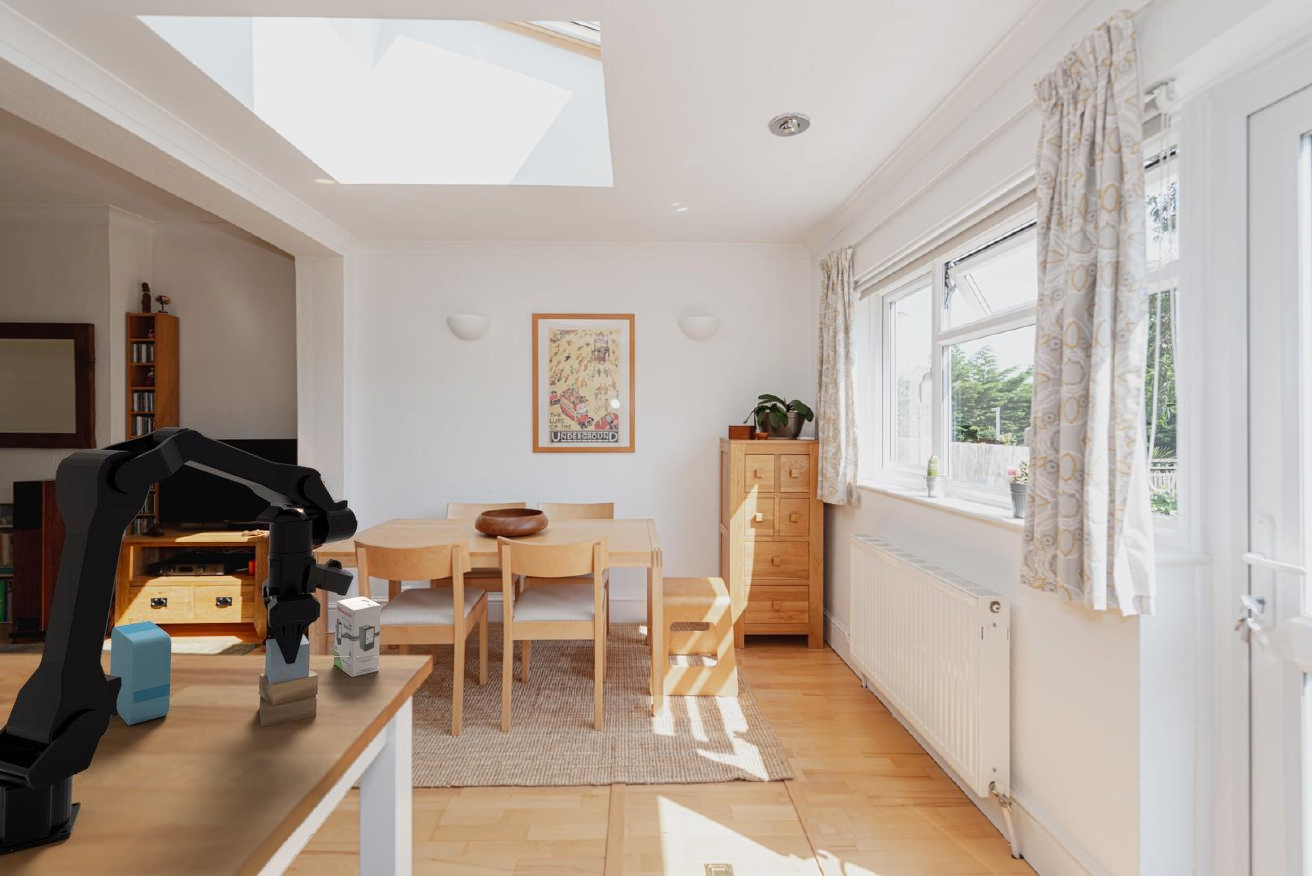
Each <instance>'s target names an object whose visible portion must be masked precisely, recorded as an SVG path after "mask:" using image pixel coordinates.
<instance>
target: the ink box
mask: <svg viewBox="0 0 1312 876" xmlns="http://www.w3.org/2000/svg"><path fill="white" fill-rule="evenodd" d="M381 609H382V608H381V604H380V603H378V602H376V601H374V600H372V599H370V598H368V597H365V596H357V597H352V598H346V599H340V600H336V608H335V626H334V627H335V628H334V629H335V631H334V649H333V650H334V651H333V664H334V666H336V667H337V668H339V669H340V670H341V671H343V672H344V673H345V674H347V675H349V676H350V677H351V678H355V677H357V676H362V675H366V674H370V673H374V672H378V671H379V666H380V636H381V635H380V634H381ZM334 656H350V657H334ZM357 656H359V657H357ZM374 656H379V657H374Z"/></svg>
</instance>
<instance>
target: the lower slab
mask: <svg viewBox="0 0 1312 876" xmlns="http://www.w3.org/2000/svg"><path fill="white" fill-rule="evenodd" d="M317 700H318V698H317V695H314V696H310V697H307V698H303V699H299V700H295V701H292V702H288V703H284V704H280V705H277V706H272V705H271V704H270V703H269V702H267V701H266V700H265V699H264V698H263V697H262V696H260V695H259V726H260V727H266V726H271V725H277V724H282V723H287V722H293V721H298V720H304V719H309V718H313V717H317V705H318V703H317V702H318V701H317Z"/></svg>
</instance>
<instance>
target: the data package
mask: <svg viewBox="0 0 1312 876" xmlns="http://www.w3.org/2000/svg"><path fill="white" fill-rule="evenodd" d="M110 638H111V639H110V643H111V644H110V668H109V669H110V670H109V671H110V672H109V675H112V676H117V677H121V678H122V686H121V689H120V692H119V695H118V698H117V710H118V715H119V716H120V718H121V719H122V720H123V721H124V722H125V724H127V725H128V726H132V725H135V724H140V723H143V722H146V721H152V720H155V719H157V718H162V717H165V716H168V714H169V712H170V707H171V706H170V703H171V702H170V701H171V699H170V698H171V676H172V675H171V673H172V671H171V670H172V669H171V667H172V639H171V638H172V637H171V636H170V634H169V633H167V632H166V631H165V630H163V629H162V628H161V627H160V626H158V625H156V624H155V623H154V622H152V621H150V620H148V621H141V622H136V623H130V624H124V625H123V624H122V625H118V626H114V627H113V628H112V630H111V637H110Z"/></svg>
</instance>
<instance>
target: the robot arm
mask: <svg viewBox="0 0 1312 876" xmlns="http://www.w3.org/2000/svg"><path fill="white" fill-rule="evenodd" d="M183 465H185V466H188V467H192V468H195V469H196V470H197V469H198V470H200V471H203V472H207V473H210V474H212V475H216V476H218V477H222V478H224V479H228V480H231V481H233V482H236V483H240V484H243V485H245V486H246V487H248V488H250V489H251V490H252V491H253V493H254V494H255V495H257V496H258V497H260V498H262V499H264V500H266V501H267V502H269V503H271V504H276V505H269V506H267V508H266V509H265V510H264V511H263V512H262V513H260V514H259V515H258V516H257V517H256V519H255V520H256V522H257V523H265V524H269V536H268V537H269V539H268V554H267V565H268V566H267V567H268V569H267V570H268V572H267V578H266V579H265V580H264V581H262V584H261V587H262V588H261V596H262V601H263V604H264V607H265V609H266V611H267V612H266V613H267V622H268V626H269V627H270V630H271V632H272V634H273V637H274V639H276V642H277V644H278V646H279V648H280V651H281V653H282V655H283V658H284V660H285V662H286V664H293V663H295V661H296V657H297V654H298V651H299V647H300V644H301V640H302V637H303V634H304V635H305V630H306V629H307V628H308V627H310V625H312V623H313V624H314V623H315V622H317V620H319V618H321V602H320V601H319V598H317V597H316V596H314V595H313V594H315V593H317V589H318V590H322V591H326V592H330V593H335V594H336V595H339V596H343V597H345V596H347V594H348V592H349V589H350V587H351V585H352V582H353V579H354V577H355V576H354V574H353V573H352V572H351V571H349V570H347V569H343V567H342V562H341V561H340V560H338V559H334V558H329V560H327V561H326V562H325V563H317V559H316V558H315V556H314V555H313V551H314V545H315V546H319V545H320V546H321V545H326V544H331V543H336V542H341V541H345V540H346V541H347V540H349V539H351V538H352V537H354V535H355V534H356V532H357V529H358V519H357V517H356V515H355V513H354V512H353V510H352V509H351V508H350V507H348V506H349V505H348V504H349V501H348V499H342V498H341V499H340V498H336V499H335V498H334V499H333V497H332V496H331V494H330V492H329V490H328V489H327V486H325V484H324V482H323V480H322V477H321V476H322V474H321V472H319V470H317V469H316V468H313V467H309V466H303V465H297V464H289V463H282V462H275V461H271V460H268V459H265V458H263V457H261V456H258V455H255V454H254V453H250V452H248V451H245V450H242V449H240V448H237V447H235V446H232V445H230V444H227V443H224V442H222V441H220V440H218V439H215V438H211V437H209V436H207V435H205V434H202V433H201V432H199V431H198V430H196V429H194V428H190V427H173V426H171V427H170V426H165V427H164V426H163V427H160V428H158V429H156V430H154V431H152V432H149V433H147V434H144V435H142V436H139V437H134V438H130V439H128V440H123V441H120V442H116V443H112V444H110V445H106V446H104V447H102V448H100V449H93V448H91V449H81V450H78V451H75V452H73V453H71V454H70V455H68V456H67V457H65V458H64V457H63V458H62V460H61V461H60V462H59V464H58V466H57V469H56V471H55V502H56V505H57V508H58V511H59V514H60V516H61V519H62V522H63V523H64V525H65V526H64V527H65V536H64V540H63V545H62V546H63V547H62V551H61V556H60V561H59V565H58V571H57V577H56V582H55V588H54V591H53V599H52V602H51V608H50V614H49V619H48V623H47V629H46V632H45V633H46V635H45V639H44V645H43V650H42V655H41V661H40V662H39V665H38V666H37V668H36V670H35V671H34V672H33V673H32V674H31V675H30V677H29V678H28V680H27V681H26V682H25V683H24V684H23V686H22V687H21V688H20V689H19V690H18V693H17V696H16V698H15V701H14V703H13V705H12V709H11V711H10V714H9V715H8V719H7V721H6V724H5V725H4V726H3V727H2V728H1V729H0V853H2V854H5V853H4V852H6V853H10V852H12V851H11V850H14V851H17V850H21V849H26V848H30V847H33V846H37V845H42V844H46V843H49V842H54V841H58V840H62V839H66V838H68V837H70V836H71V835H72V832H73V829H74V826H75V824H76V821H77V819H78V816H79V813H80V810H81V808H82V807H81V806H82V805H81V802H77V801H76V802H72V801H73V778H74V777H73V776H74V775H75V776H76V775H77V774H80V773H81V772H84V771H86V770H88V769H89V768H90V766H91V763H92V761H93V758H94V756H95V753H96V751H97V748H98V747H99V743H100V740H101V738H102V737H104V736H105V735H106V732H108V729H109V727H110V723H111V721H112V717H117V716H118V715H119V714H118V710H117V698H118V695H119V692H120V689H121V686H122V678H121V677H117V676H112V675H110V674H107V673H105V671H104V668H103V665H102V655H103V650H104V644H105V639H106V635H107V634H106V633H107V628H108V623H109V616H110V611H111V607H112V600H113V595H114V589H115V583H116V577H117V572H118V566H119V562H120V556H121V551H122V545H123V538H124V534H125V531H126V530H127V529H128V527H129V526H130V525H131V524H132V522H133V521H134V520H135V519H136V517H137V516H138V515H139V514H140V512H141V511H142V510H143V508H144V507H145V505H146V501H147V498H148V496H149V493H150V490H151V488H152V486H153V485H155V484H156V483H159V482H161V481H163V480H165V479H167V478H169V477H171V476H172V475H174V474H175V472H177V471H178V470H179V469H180V468H181V467H182V466H183ZM277 504H279V505H282V506H284V508H287V509H284V508H283V507H282V506H279V505H277ZM9 851H10V852H9Z"/></svg>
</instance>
